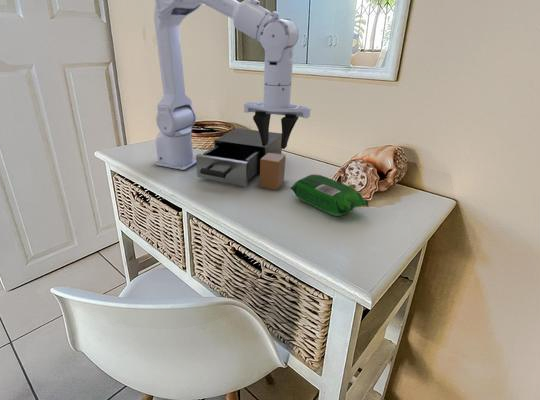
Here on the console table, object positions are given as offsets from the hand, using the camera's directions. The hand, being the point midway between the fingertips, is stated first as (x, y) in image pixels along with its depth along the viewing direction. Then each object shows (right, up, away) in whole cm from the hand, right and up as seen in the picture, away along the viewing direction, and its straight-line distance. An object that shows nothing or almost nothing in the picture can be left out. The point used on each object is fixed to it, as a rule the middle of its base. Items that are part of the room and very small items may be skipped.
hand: (274, 146), depth 76 cm
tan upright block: (0, -9, +4) cm, 9 cm away
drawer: (-11, -6, +7) cm, 14 cm away
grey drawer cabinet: (-5, -2, +17) cm, 18 cm away
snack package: (+10, -14, -6) cm, 18 cm away
